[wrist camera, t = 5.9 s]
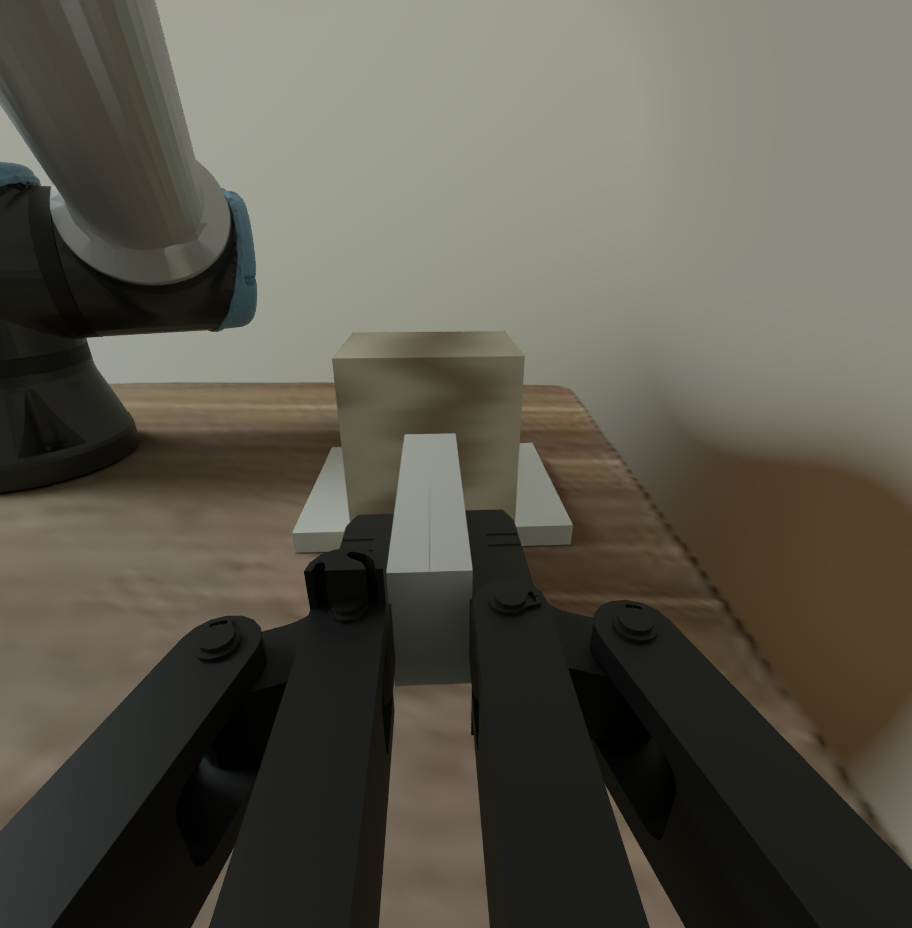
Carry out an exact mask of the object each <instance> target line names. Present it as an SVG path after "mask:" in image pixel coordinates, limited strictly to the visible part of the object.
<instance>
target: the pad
mask: <svg viewBox="0 0 912 928" xmlns="http://www.w3.org/2000/svg"><path fill="white" fill-rule="evenodd" d="M349 523H350V519H349V510H348V501H347V491H346V482H345V473H344V464H343V455H342V447H332V449H331V451H330V453H329V455H328V457H327V459H326V462H325V464H324V466H323V468H322V470H321V472H320V474H319V477H318V479H317V481H316V483H315V485H314V487H313V489H312V491H311V494H310V496H309V498H308V500H307V502H306V504H305V506H304V509H303V511H302V513H301V515H300V517H299V519H298V521H297V524H296V526H295V528H294V530H293V532H292V536H293V542H294V548H295V553H305V552H330V551H332V550H335V549H339V548H340V545H341V542H342V538H343V535H344V531H345V528H346V526H347V525H348V524H349ZM515 525H516V528H517V532H518V536H519V538H520V542H521V546H539V545H571V538H572V529H573V524H572V522H571V520H570V518H569V516H568V514H567V512H566V510H565V508H564V506H563V504H562V502H561V500H560V498H559V496H558V494H557V492H556V490H555V488H554V486H553V484H552V482H551V480H550V478H549V476H548V474H547V472H546V470H545V468H544V466H543V464H542V462H541V460H540V458H539V456H538V453H537V451H536V449H535V447H534V445H533V443H520V445H519V463H518V480H517V498H516V516H515Z"/></svg>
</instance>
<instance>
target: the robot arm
mask: <svg viewBox="0 0 912 928" xmlns="http://www.w3.org/2000/svg"><path fill="white" fill-rule="evenodd" d="M0 105H1V106H2V108H3V109H4V111H5V112H6V114H7V115H8V117H9V118H10V120H11V121H12V123H13V124H14V126H15V127H16V129H17V130H18V132H19V133H20V135H21V136H22V138H23V139H24V141H25V142H26V144H27V145H28V147H29V148H30V149H31V151H32V153H33V154H34V156H35V157H36V159H37V160H38V162H39V163H40V164H41V166H42V168H43V169H44V171H45V172H46V174H47V175H48V177H49V178H50V179H51V181H52V186H51V187H50V186H41V184H40V181H39V179H38V178H37V177H35V175H34V173H33V172H32V171H31V170H30V169H29V168H28V167H25V166H23V165H19V164H15V163H6V162H0V493H1V492H9V491H16V490H22V489H28V488H34V487H39V486H43V485H48V484H52V483H56V482H60V481H64V480H67V479H71V478H74V477H78V476H81V475H84V474H87V473H89V472H92V471H95V470H98V469H100V468H103V467H105V466H107V465H109V464H112V463H114V462H116V461H118V460H119V459H121V458H123V457H125V456H126V455H128V454H129V453H130V452H132V451H133V450H134V449H135V448H136V447H137V445H138V444H139V436H138V432H137V429H136V426H135V422H134V420H133V417H132V416H131V414H130V413H129V412H127V410H126V409H125V407H124V406H123V404H122V403H121V401H120V400H119V398H118V397H117V396H116V394H115V393H114V391H113V390H112V389H111V387H110V386H109V384H108V383H107V382H106V380H105V379H104V378H103V376H102V375H101V373H100V372H99V371H98V369H97V368H96V366H95V364H94V361H93V359H92V356H91V352H90V349H89V346H88V343H87V337H103V336H117V335H134V334H151V333H167V332H185V331H202V330H208V331H211V332H218V331H221V330H223V329H225V328H235V327H242V326H245V325H247V324H249V323H250V322H251V321H252V319H253V318H254V315H255V312H256V305H257V284H256V280H255V275H256V262H255V253H254V244H253V237H252V231H251V225H250V220H249V215H248V212H247V208H246V205H245V203H244V201H243V199H242V198H241V197H240V196H239V195H238V194H237V193H235V192H232V191H226V190H225V189H223V188H221V187H220V185H219V184H218V182H217V181H216V180H215V178H214V177H213V176H212V174H211V173H210V172H209V171H208V170H207V169H206V168H205V167H204V166H202V165H201V164H200V163H199V162H198V161H196V160H195V156H194V152H193V148H192V145H191V140H190V136H189V132H188V129H187V124H186V121H185V117H184V113H183V109H182V105H181V101H180V97H179V93H178V89H177V85H176V82H175V77H174V74H173V69H172V66H171V62H170V58H169V54H168V50H167V46H166V42H165V38H164V34H163V30H162V27H161V23H160V18H159V15H158V11H157V7H156V3H155V0H0ZM304 575H305V581H306V587H307V593H308V599H309V605H310V612H309V615H308V616H306V617H304V618H303V619H301V620H299V621H297V622H294V623H291V624H288V625H285V626H282V627H278V628H274V629H270V630H267V631H263V632H261V627H260V626H259V625H258V624H257V623H256V622H255V621H254V620H253V619H250V618H247V617H244V616H224V617H221V618H217V619H213V620H210V621H208V622H206V623H204V624H202V625H199V626H197V627H195V628H194V629H193V630H192V631H190V632H189V633H188V634H187V635H185V636H184V637H183V638H182V639H181V640H180V641H179V642H178V643H177V644H176V645H175V646H174V647H173V648H172V649H171V650H170V652H169V653H168V654H167V655H166V656H165V657H164V658H163V659H162V660H161V661H160V662H159V663H158V664H157V665H156V666H155V667H154V669H153V670H152V671H151V672H150V673H149V674H148V675H147V676H146V677H145V678H144V679H143V680H142V681H141V682H140V683H139V684H138V686H137V687H136V688H135V689H134V690H133V691H132V692H131V693H130V694H129V695H128V696H127V697H126V698H125V699H124V700H123V701H122V702H121V704H120V705H119V706H118V707H117V708H116V709H115V710H114V711H113V712H112V713H111V714H110V715H109V716H108V717H107V718H106V719H105V721H104V722H103V723H102V724H101V725H100V726H99V727H98V728H97V729H96V730H95V731H94V732H93V733H92V734H91V735H90V736H89V738H88V739H87V740H86V741H85V742H84V743H83V744H82V745H81V746H80V747H79V748H78V749H77V750H76V751H75V752H74V753H73V755H72V756H71V757H70V758H69V759H68V760H67V761H66V762H65V763H64V764H63V765H62V766H61V767H60V768H59V769H58V770H57V772H56V773H55V774H54V775H53V776H52V777H51V778H50V779H49V780H48V781H47V782H46V783H45V784H44V785H43V786H42V787H41V789H40V790H39V791H38V792H37V793H36V794H35V795H34V796H33V797H32V798H31V799H30V800H29V801H28V802H27V803H26V804H25V806H24V807H23V808H22V809H21V810H20V811H19V812H18V813H17V814H16V815H15V816H14V817H13V818H12V819H11V820H10V821H9V823H8V824H7V825H6V826H5V827H4V828H3V829H2V830H1V831H0V928H191V927H192V925H193V923H194V921H195V919H196V917H197V915H198V914H199V912H200V910H201V908H202V906H203V904H204V902H205V900H206V899H207V897H208V895H209V893H210V891H211V889H212V887H213V885H214V884H215V882H216V880H217V878H218V876H219V874H220V872H221V870H222V869H223V867H224V865H225V863H226V861H227V859H228V857H229V856H230V854H231V852H232V850H233V848H234V850H233V854H232V857H231V860H230V863H229V866H228V869H227V872H226V875H225V879H224V882H223V885H222V888H221V891H220V894H219V897H218V901H217V904H216V907H215V910H214V913H213V916H212V919H211V922H210V926H209V928H379V915H380V902H381V888H382V875H383V861H384V847H385V834H386V820H387V806H388V793H389V779H390V766H391V752H392V738H393V725H394V699H393V685H394V680H395V686H411V685H436V684H460V683H472V712H471V735H474V743H475V755H476V767H477V779H478V791H479V803H480V815H481V827H482V839H483V851H484V863H485V875H486V887H487V899H488V911H489V923H490V928H650V927H649V924H648V921H647V918H646V915H645V911H644V908H643V905H642V902H641V899H640V895H639V892H638V889H637V886H636V883H635V880H634V876H633V873H632V870H631V867H630V864H629V861H628V857H627V854H626V851H625V848H624V845H623V841H622V838H621V835H620V832H619V829H618V826H617V822H616V819H615V816H614V813H613V810H612V806H611V803H610V800H609V797H608V794H607V791H606V787H607V789H608V790H609V792H610V794H611V796H612V798H613V799H614V801H615V803H616V805H617V806H618V808H619V810H620V812H621V814H622V815H623V817H624V819H625V821H626V823H627V824H628V826H629V828H630V830H631V831H632V833H633V835H634V837H635V839H636V840H637V842H638V844H639V846H640V848H641V849H642V851H643V853H644V855H645V856H646V858H647V860H648V862H649V864H650V865H651V867H652V869H653V871H654V873H655V874H656V876H657V878H658V880H659V881H660V883H661V885H662V887H663V889H664V890H665V892H666V894H667V896H668V897H669V899H670V901H671V903H672V905H673V906H674V908H675V910H676V912H677V914H678V915H679V917H680V919H681V921H682V922H683V924H684V926H685V928H912V870H911V869H910V868H909V867H908V866H907V865H906V864H905V863H904V862H903V861H902V860H901V858H900V857H899V856H898V855H897V854H896V853H895V852H894V851H893V850H892V849H891V848H890V847H889V846H888V845H887V844H886V843H885V842H884V841H883V840H882V839H881V838H880V837H879V836H878V835H877V834H876V833H875V832H874V831H873V830H872V829H871V828H870V826H869V825H868V824H867V823H866V822H865V821H864V820H863V819H862V818H861V817H860V816H859V815H858V814H857V813H856V812H855V811H854V810H853V809H852V808H851V807H850V806H849V805H848V804H847V803H846V802H845V801H844V800H843V799H842V798H841V797H840V796H839V795H838V793H837V792H836V791H835V790H834V789H833V788H832V787H831V786H830V785H829V784H828V783H827V782H826V781H825V780H824V779H823V778H822V777H821V776H820V775H819V774H818V773H817V772H816V771H815V770H814V769H813V768H812V767H811V766H810V765H809V764H808V763H807V761H806V760H805V759H804V758H803V757H802V756H801V755H800V754H799V753H798V752H797V751H796V750H795V749H794V748H793V747H792V746H791V745H790V744H789V743H788V742H787V741H786V740H785V739H784V738H783V737H782V736H781V735H780V734H779V733H778V732H777V731H776V730H775V728H774V727H773V726H772V725H771V724H770V723H769V722H768V721H767V720H766V719H765V718H764V717H763V716H762V715H761V714H760V713H759V712H758V711H757V710H756V709H755V708H754V707H753V706H752V705H751V704H750V703H749V702H748V701H747V700H746V699H745V698H744V696H743V695H742V694H741V693H740V692H739V691H738V690H737V689H736V688H735V687H734V686H733V685H732V684H731V683H730V682H729V681H728V680H727V679H726V678H725V677H724V676H723V675H722V674H721V673H720V672H719V671H718V670H717V669H716V668H715V667H714V666H713V665H712V663H711V662H710V661H709V660H708V659H707V658H706V657H705V656H704V655H703V654H702V653H701V652H700V651H699V650H698V649H697V648H696V647H695V646H694V645H693V644H692V643H691V642H690V641H689V640H688V639H687V638H686V637H685V636H684V635H683V634H682V633H681V631H680V630H679V629H678V628H677V627H676V626H675V625H674V624H673V623H672V622H671V621H670V620H669V619H668V618H667V617H665V616H664V615H663V614H661V613H660V612H659V611H657V610H656V609H654V608H652V607H649V606H647V605H645V604H643V603H639V602H633V601H628V600H620V601H611V602H609V603H606V604H604V605H601V606H600V608H599V609H598V610H597V611H596V612H595V614H594V618H592V617H588V616H583V615H578V614H573V613H569V612H566V611H562V610H560V609H557V608H555V607H553V606H551V605H550V604H548V603H547V601H546V599H545V597H544V596H543V594H542V592H541V591H539V590H538V589H537V588H535V587H534V586H533V583H532V579H531V576H530V572H529V569H528V566H527V562H526V559H525V555H524V552H523V549H522V546H521V542H520V538H519V536H518V532H517V528H516V525H515V521H514V520H513V519H512V518H511V517H510V516H509V515H508V514H507V513H506V512H505V511H504V510H503V509H497V510H465V506H464V498H463V490H462V482H461V474H460V466H459V458H458V450H457V442H456V434H455V433H452V434H405V435H404V443H403V450H402V458H401V466H400V473H399V481H398V488H397V496H396V503H395V511H394V514H364V515H357V516H356V517H355V518H354V519H353V520H352V521H351V522H350V523H349V524H348V525H347V526H346V528H345V531H344V535H343V538H342V542H341V545H340V548H339V549H335V550H332V551H330V552H327V553H324V554H322V555H320V556H319V557H317V558H316V559H314V560H313V561H311V562H310V563H309V565H308V566H307V568H306V569H305V571H304ZM604 783H605V784H604ZM605 785H606V787H605ZM234 846H235V847H234Z"/></svg>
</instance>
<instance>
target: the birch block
mask: <svg viewBox="0 0 912 928" xmlns="http://www.w3.org/2000/svg"><path fill="white" fill-rule="evenodd" d="M524 357H525V356H524V355H523V354H522V352H521V351H520V350H519V348H518V347H517V346H516V345H515V343H514V342H513V341H512V340H511V338H510V337H509V336H508V335H507V333H506V332H505V331H483V332H482V331H481V332H480V331H479V332H382V333H381V332H380V333H352V335H351V336H350V337H349V338H348V340H347V341H346V342H345V343H344V344H343V346H342V347H341V348H340V350H339V351H338V352H337V353H336V354H335V356H334V357H333V358H332V362H333V371H334V381H335V390H336V399H337V408H338V418H339V427H340V436H341V445H342V455H343V464H344V473H345V482H346V491H347V501H348V510H349V519H350V522H351V521H352V520H353V519H354V518H355V517H356V516H357V515H364V514H394V511H395V503H396V496H397V488H398V481H399V473H400V466H401V458H402V450H403V443H404V435H405V434H452V433H455V434H456V442H457V450H458V458H459V466H460V474H461V482H462V490H463V498H464V506H465V510H497V509H503V510H504V511H505V512H506V513H507V514H508V515H509V516H510V517H511V518H512V519H513V520H514V521H515V516H516V498H517V480H518V463H519V445H520V428H521V410H522V393H523V375H524Z"/></svg>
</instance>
